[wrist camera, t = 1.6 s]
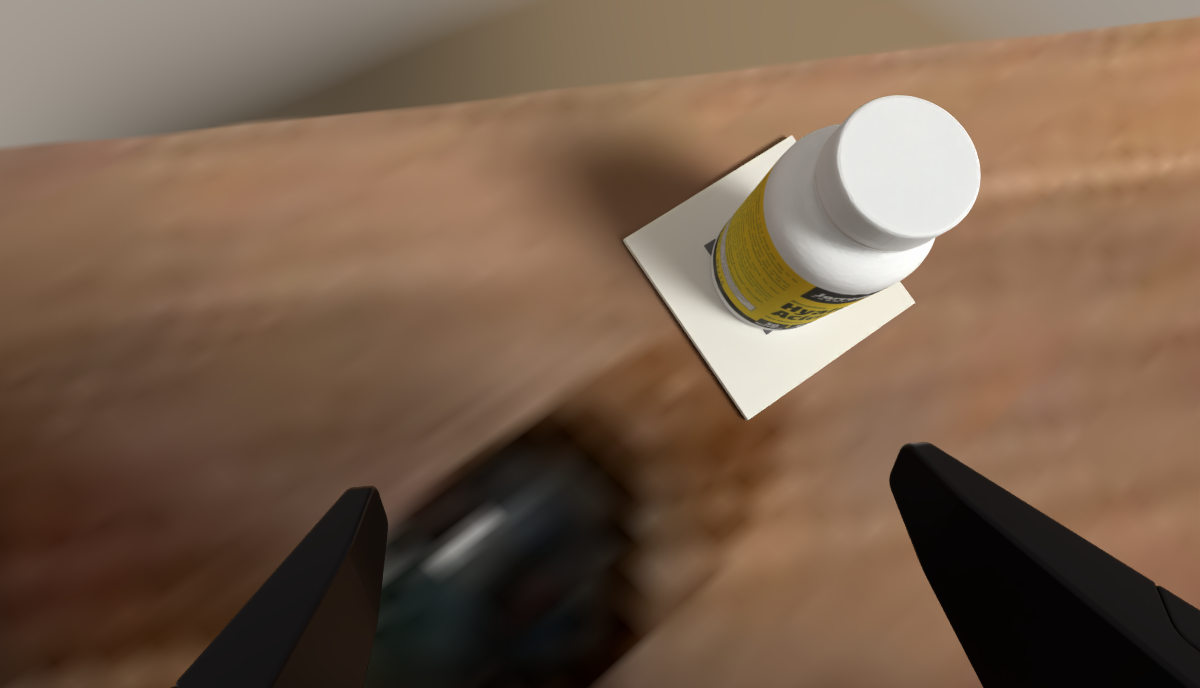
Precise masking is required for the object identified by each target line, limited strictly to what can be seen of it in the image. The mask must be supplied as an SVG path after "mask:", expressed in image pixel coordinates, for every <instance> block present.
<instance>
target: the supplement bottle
mask: <svg viewBox="0 0 1200 688" xmlns="http://www.w3.org/2000/svg"><path fill="white" fill-rule="evenodd" d="M979 186H980V164H979V160H978V156H977V152H976V150H975V147H974V145H973V143H972V141H971V139H970V137H969V135H968V134H967V132H966V131H965V129H964V128H963V127H962V126H961V124H960V123H959V122H958V121H957V120H956V119H955V118H954V117H953V116H951V115H950V114H949V113H948V112H947V111H945V110H944V109H942V108H941V107H939V106H937V105H935V104H933V103H931V102H929V101H926V100H924V99H920V98H916V97H913V96H903V95H894V96H886V97H881V98H878V99H875V100H872V101H870V102H868V103H866V104H864V105H862V106H861V107H859V108H858V109H857V110H855V111H854V112H853V113H852V114H851V115H850V116H849V117H848V118H847V119H846V120H845V121H844V122H843V123H842V124H838V125H832V126H828V127H824V128H821V129H818V130H816V131H813V132H811V133H809V134H808V135H806V136H804V137H803V138H801V139H800V140H798V141H797V142H795V143H794V144H793V145H792V146H791V147H790V148H789V149H788V150H787V151H786V152H785V153H784V154H783V155H782V156H781V157H780V158H779V159H778V161H777V162H776V163H775V164H774V165H773V167H772V168H771V169H770V170H769V172H768V173H767V174H766V175H765V177H764V178H763V179H762V180H761V181H760V183H759V184H758V185H757V186H756V188H755V189H754V190H753V191H752V192H751V194H750V195H749V196H748V197H747V198H746V200H745V201H744V202H743V203H742V205H741V206H740V207H739V208H738V209H737V211H736V212H735V213H734V214H733V216H732V217H731V218H730V219H729V221H728V222H727V223H726V224H725V226H724V227H723V229H722V230H721V232H720V233H719V235H718V237H717V239H716V241H715V244H714V246H713V250H712V255H711V274H712V279H713V283H714V286H715V288H716V291H717V293H718V295H719V296H720V298H721V300H722V301H723V303H724V304H725V305H726V306H727V308H728V309H729V310H730V311H731V312H732V313H733V314H734V315H736V316H737V317H738V318H739V319H741V320H742V321H744V322H746V323H748V324H750V325H752V326H755V327H758V328H761V329H765V330H773V331H781V330H790V329H794V328H798V327H801V326H803V325H806V324H808V323H811V322H813V321H815V320H817V319H820V318H822V317H824V316H826V315H829V314H831V313H833V312H835V311H838V310H840V309H842V308H844V307H847V306H849V305H851V304H854V303H856V302H858V301H860V300H862V299H865V298H867V297H869V296H871V295H873V294H875V293H877V292H880V291H882V290H884V289H886V288H888V287H890V286H892V285H894V284H895V283H897V282H899V281H901V280H902V279H904V278H905V277H907V276H908V275H909V274H911V273H912V272H913V271H914V270H915V269H916V268H917V267H918V266H919V265H920V264H921V262H922V261H923V260H924V259H925V257H926V256H927V254H928V253H929V251H930V249H931V247H932V245H933V243H934V240H935V237H937V236H939V235H941V234H943V233H944V232H946V231H948V230H950V229H951V228H953V227H954V226H955V225H957V224H958V223H959V222H960V221H961V220H962V219H963V218H964V217H965V216H966V215H967V214H968V212H969V211H970V209H971V208H972V206H973V204H974V202H975V200H976V197H977V194H978V191H979Z"/></svg>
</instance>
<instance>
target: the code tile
mask: <svg viewBox="0 0 1200 688" xmlns="http://www.w3.org/2000/svg"><path fill="white" fill-rule="evenodd" d="M795 142H796V140H795V139H794V137H793V136H792V135H791V136H790V137H788V138H787V139H785V140H783V141H782V142H780V143H778V144H777V145H775V146H774V147H772V148H770V149H769V150H767V151H766V152H764V153H762V154H761V155H759V156H757V157H756V158H754V159H753V160H751V161H749V162H748V163H746V164H744V165H743V166H741V167H740V168H738V169H736V170H735V171H733V172H732V173H730V174H728V175H727V176H725V177H723V178H722V179H720V180H719V181H717V182H715V183H714V184H712V185H710V186H709V187H707V188H706V189H704V190H702V191H701V192H699V193H698V194H696V195H694V196H693V197H691V198H689V199H688V200H686V201H685V202H683V203H681V204H680V205H678V206H676V207H675V208H673V209H672V210H670V211H668V212H667V213H665V214H664V215H662V216H660V217H659V218H657V219H655V220H654V221H652V222H651V223H649V224H647V225H646V226H644V227H643V228H641V229H639V230H638V231H636V232H634V233H633V234H631V235H630V236H628V237H626V238H625V239H624V240H623V242H624V244H625V245H626V246H627V248H628V249H629V251H630V252H631V254H632V255H633V257H634V258H635V260H636V261H637V262H638V264H639V265H640V267H641V268H642V270H643V271H644V273H645V274H646V276H647V277H648V278H649V280H650V281H651V283H652V284H653V286H654V287H655V289H656V290H657V292H658V293H659V294H660V296H661V297H662V299H663V300H664V302H665V303H666V305H667V306H668V308H669V309H670V310H671V312H672V313H673V315H674V316H675V318H676V319H677V321H678V322H679V324H680V325H681V326H682V328H683V329H684V331H685V332H686V334H687V335H688V337H689V338H690V340H691V341H692V342H693V344H694V345H695V347H696V348H697V350H698V351H699V353H700V354H701V356H702V357H703V358H704V360H705V361H706V363H707V364H708V366H709V367H710V369H711V370H712V372H713V373H714V374H715V376H716V377H717V379H718V380H719V382H720V383H721V385H722V386H723V388H724V389H725V390H726V392H727V393H728V395H729V396H730V398H731V399H732V401H733V402H734V404H735V405H736V406H737V408H738V409H739V411H740V412H741V414H742V415H743V417H744V418H745V420H749V419H750V418H752V417H753V416H755V415H756V414H758V413H759V412H760V411H762V410H763V409H765V408H766V407H768V406H769V405H770V404H772V403H773V402H775V401H776V400H777V399H779V398H780V397H782V396H783V395H785V394H786V393H787V392H789V391H790V390H792V389H793V388H795V387H796V386H797V385H799V384H800V383H802V382H803V381H804V380H806V379H807V378H809V377H810V376H812V375H813V374H814V373H816V372H817V371H819V370H820V369H822V368H823V367H824V366H826V365H827V364H829V363H830V362H832V361H833V360H834V359H836V358H837V357H839V356H840V355H841V354H843V353H844V352H846V351H847V350H849V349H850V348H851V347H853V346H854V345H856V344H857V343H859V342H860V341H861V340H863V339H864V338H866V337H867V336H868V335H870V334H871V333H873V332H874V331H876V330H877V329H878V328H880V327H881V326H883V325H884V324H886V323H887V322H888V321H890V320H891V319H893V318H894V317H896V316H897V315H898V314H900V313H901V312H903V311H904V310H905V309H907V308H908V307H910V306H911V305H913V304H914V303H915V301H914V300H913V299H912V297H911V296H910V295H909V293H908V292H907V291H906V289H905V288H904V286H903V285H902V284H901V282H900V281H899V282H897V283H895V284H894V285H892V286H890V287H888V288H886V289H884V290H882V291H880V292H877V293H875V294H873V295H871V296H869V297H867V298H865V299H862V300H860V301H858V302H856V303H854V304H851V305H849V306H847V307H844V308H842V309H840V310H838V311H835V312H833V313H831V314H829V315H826V316H824V317H822V318H820V319H817V320H815V321H813V322H811V323H808V324H806V325H803V326H801V327H798V328H794V329H790V330H781V331H773V330H765V329H761V328H758V327H755V326H752V325H750V324H748V323H746V322H744V321H742V320H741V319H739V318H738V317H737V316H736V315H734V314H733V313H732V312H731V311H730V310H729V309H728V308H727V306H726V305H725V304H724V303H723V301H722V300H721V298H720V296H719V295H718V293H717V291H716V288H715V286H714V283H713V279H712V274H711V255H712V250H713V246H714V244H715V241H716V239H717V237H718V235H719V233H720V232H721V230H722V229H723V227H724V226H725V224H726V223H727V222H728V221H729V219H730V218H731V217H732V216H733V214H734V213H735V212H736V211H737V209H738V208H739V207H740V206H741V205H742V203H743V202H744V201H745V200H746V198H747V197H748V196H749V195H750V194H751V192H752V191H753V190H754V189H755V188H756V186H757V185H758V184H759V183H760V181H761V180H762V179H763V178H764V177H765V175H766V174H767V173H768V172H769V170H770V169H771V168H772V167H773V165H774V164H775V163H776V162H777V161H778V159H779V158H780V157H781V156H782V155H783V154H784V153H785V152H786V151H787V150H788V149H789V148H790V147H791V146H792V145H793V144H794V143H795Z"/></svg>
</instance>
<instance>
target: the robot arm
mask: <svg viewBox="0 0 1200 688" xmlns="http://www.w3.org/2000/svg"><path fill="white" fill-rule="evenodd" d="M889 481H890V488H891V491H892V493H893V496H894V498H895V501H896V504H897V506H898V509H899V511H900V514H901V516H902V519H903V521H904V524H905V527H906V529H907V532H908V534H909V537H910V539H911V542H912V544H913V547H914V550H915V552H916V555H917V557H918V559H919V562H920V564H921V566H922V569H923V571H924V573H925V575H926V577H927V579H928V581H929V583H930V585H931V587H932V589H933V591H934V593H935V595H936V597H937V599H938V601H939V602H940V604H941V606H942V608H943V610H944V612H945V614H946V616H947V618H948V620H949V622H950V624H951V626H952V628H953V630H954V632H955V634H956V635H957V637H958V639H959V641H960V643H961V645H962V647H963V649H964V651H965V653H966V655H967V657H968V659H969V661H970V663H971V665H972V667H973V668H974V670H975V672H976V674H977V676H978V678H979V680H980V682H981V684H982V686H983V688H1200V610H1199V609H1197V608H1195V607H1194V606H1192V605H1190V604H1189V603H1187V602H1186V601H1184V600H1182V599H1181V598H1179V597H1177V596H1176V595H1174V594H1173V593H1171V592H1169V591H1168V590H1166V589H1165V588H1163V587H1161V586H1156V585H1155V583H1154V582H1153V581H1151V580H1150V579H1148V578H1147V577H1145V576H1143V575H1142V574H1140V573H1139V572H1137V571H1135V570H1134V569H1132V568H1131V567H1129V566H1127V565H1126V564H1124V563H1123V562H1121V561H1119V560H1118V559H1116V558H1114V557H1113V556H1111V555H1110V554H1108V553H1106V552H1105V551H1103V550H1102V549H1100V548H1098V547H1097V546H1095V545H1094V544H1092V543H1090V542H1089V541H1087V540H1085V539H1084V538H1082V537H1081V536H1079V535H1077V534H1076V533H1074V532H1073V531H1071V530H1069V529H1068V528H1066V527H1065V526H1063V525H1061V524H1060V523H1058V522H1056V521H1055V520H1053V519H1052V518H1050V517H1048V516H1047V515H1045V514H1044V513H1042V512H1040V511H1039V510H1037V509H1036V508H1034V507H1032V506H1031V505H1029V504H1027V503H1026V502H1024V501H1023V500H1021V499H1019V498H1018V497H1016V496H1015V495H1013V494H1011V493H1010V492H1008V491H1007V490H1005V489H1003V488H1002V487H1000V486H999V485H997V484H995V483H994V482H992V481H990V480H989V479H987V478H986V477H984V476H982V475H981V474H979V473H978V472H976V471H974V470H973V469H971V468H970V467H968V466H966V465H965V464H963V463H961V462H960V461H958V460H957V459H955V458H953V457H952V456H950V455H949V454H947V453H945V452H944V451H942V450H941V449H939V448H937V447H936V446H934V445H932V444H930V443H927V442H919V443H908V444H905V445H903V446H902V447H901V449H900V451H899V454H898V456H897V459H896V461H895V464H894V466H893V468H892V471H891V474H890V479H889ZM387 534H388V522H387V517H386V513H385V510H384V507H383V504H382V501H381V498H380V495H379V492H378V490H377V489H376V487H374V486H363V487H352V488H350V489H348V490H347V491H346V492H345V493H344V494H343V495H342V496H341V497H340V498H339V499H338V500H337V502H336V503H335V504H334V505H333V506H332V507H331V508H330V509H329V511H328V512H327V513H326V514H325V515H324V516H323V517H322V518H321V520H320V521H319V522H318V523H317V524H316V525H315V526H314V527H313V529H312V530H311V531H310V532H309V533H308V534H307V535H306V536H305V538H304V539H303V540H302V541H301V542H300V543H299V544H298V545H297V547H296V548H295V549H294V550H293V551H292V552H291V553H290V555H289V556H288V557H287V558H286V559H285V560H284V561H283V562H282V564H281V565H280V566H279V567H278V568H277V569H276V570H275V571H274V573H273V574H272V575H271V576H270V577H269V578H268V579H267V580H266V582H265V583H264V584H263V585H262V586H261V587H260V588H259V589H258V591H257V592H256V593H255V594H254V595H253V596H252V597H251V598H250V600H249V601H248V602H247V603H246V604H245V605H244V606H243V607H242V609H241V610H240V611H239V612H238V613H237V614H236V615H235V616H234V618H233V619H232V620H231V621H230V622H229V623H228V624H227V625H226V627H225V628H224V629H223V630H222V631H221V632H220V633H219V634H218V636H217V637H216V638H215V639H214V640H213V641H212V642H211V643H210V645H209V646H208V647H207V648H206V649H205V650H204V651H203V652H202V654H201V655H200V656H199V657H198V658H197V659H196V660H195V661H194V663H193V664H192V665H191V666H190V667H189V668H188V669H187V670H186V672H185V673H184V674H183V675H182V676H181V677H180V678H179V679H178V681H177V683H176V686H177V687H176V686H174V687H171V688H363V685H364V681H365V677H366V672H367V668H368V663H369V659H370V655H371V650H372V646H373V641H374V637H375V632H376V627H377V622H378V614H379V607H380V597H381V588H382V579H383V570H384V561H385V552H386V543H387Z"/></svg>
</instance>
